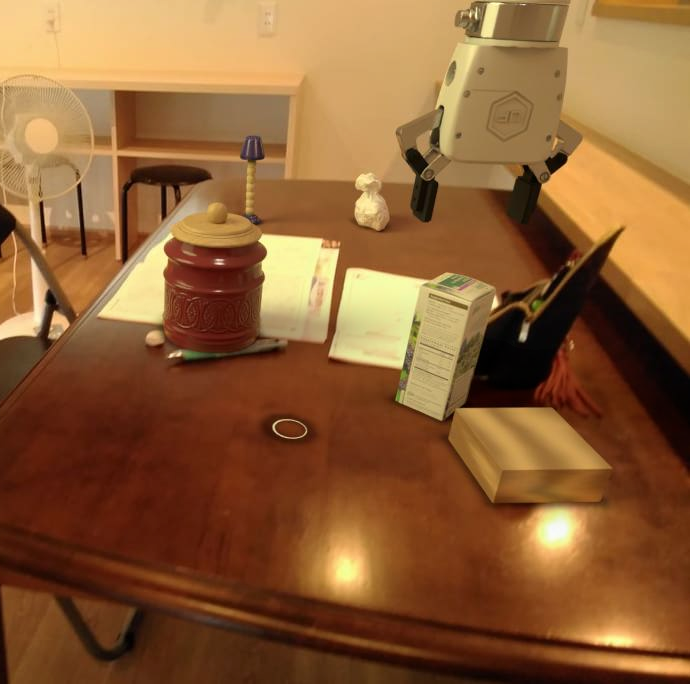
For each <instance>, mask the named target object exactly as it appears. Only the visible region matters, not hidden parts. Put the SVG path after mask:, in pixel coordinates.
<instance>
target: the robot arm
mask: <svg viewBox="0 0 690 684" xmlns="http://www.w3.org/2000/svg"><path fill="white" fill-rule="evenodd" d="M571 2H572V0H474V1H473V2H471V3H470V7H469V8H467V9H466V10H464V9H459V10H457V11H456V14H455V17H454V27H455V28H462V29H463V30H464V36H466V37H465V41H458V43H457V45H456V46H455V49H454V52H453V54H452V57H451V59H450V61H449V64H448V67H447V68H446V72H445V75H444V77H443V81H442V84H441V87H440V90H439V94H438V97H437V101H436V105H435V107H434V110H432V111H429V112H428V113H426V114H424V115H421V116H418V117H417V118H415V119H412V120H411V121H409V122H406V123H404V124H401V125H400V126H398V127H397V128H396V129H395V137H396V140H397V143H398V146H399V149H400V151H401V157H402V159H403V160H404V161H405V162H406V164H407V165H408V166H409V168H410V170H411V171H412V173H413V174H415V178H414V183H413V188H412V192H411V193H412V194H411V198H410V207H409V208H410V210H411V211H412V215H413V216H414V217H415V218H417V219H418V220H419V222H421V223H427V224H428V223H430V222H431V221H432V219H433V214H434V209H435V204H436V199H437V195H438V190H439V186H440V185H439V182H438V180H436V176H437V175H438V174H440V173H441V172H442V171H443V170H444V169H445V168H446V167H447V166H448V165H449V164H450V163H451V162H454V163H458V164H469V165H504V166H505V165H506V166H507V165H509V166H519V168H520V169H521V171H522V175H517V177H516V178H515V181H514V184H513V188H512V191H511V192H512V193H511V195H510V200H509V203H508V207H507V211H506V215H507V216H508V217H509V218H511V219H512V220H514V221H515V222H517V223H518V224H520V225H529V224H530V222H531V218H532V214H534V213H535V211H536V206H537V204H538V200H539V198H540V194H541V189H542V187H543V185H544V184H547V183H548V182H549V181H550V180H551V178H552V175H553V174H554V173H556V172H557V171H559V170H560V169H562V167H564V166H565V165H566V164H567V162H568V160H569V157H570V156H572V155H573V153H574V152H575V151H576V149H577V148H578V147H579V146H580V144H581V143H582V142H583V140H584V136H583V134H582V133H581V132H579V131H578V130H576V129H575V128H573V127H572V126H571V125H569V124H568V123H566V122H565V121H563V120H562V119H561V115H562V110H563V105H564V99H565V92H566V87H567V85H566V84H567V77H568V76H567V75H568V63H569V62H568V61H569V57H568V56H569V48H568V47H564V46H560V43H561V38H562V35H563V30H564V27H565V23H566V20H567V16H568V12H569V8H570V5H571ZM428 132H429V135H428V147H429V149H428V150H426V151H425V152H424V153H423V154H422V153H421V152H420V151H419V149H418V144H417V139H418V138H419V137H420V136H423V135H424V134H427V133H428ZM556 139H557V141H556ZM555 142H556V144H555Z"/></svg>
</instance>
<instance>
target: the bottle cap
mask: <svg viewBox="0 0 690 684" xmlns="http://www.w3.org/2000/svg"><path fill="white" fill-rule="evenodd" d="M283 421H292V422H297V423H299V424H300V425H302V427H304V429H305V432H304V434H303V435H300V436H297V437H289V436H285V435H282V434H280V433H278V431H277V430H276V425H277V424H278V423H280V422H283ZM272 431H273V432H274V433H275V434H276V435H277V436H280V437H282V438H285V439H294V440H295V439H299V438H303V437H304V436H306V434H307V432H308V428H307V426H306V425H304V424H303V423H301V422H300V421H298V420H295V419H290V418H289V419H288V418H287V419H285V418H284V419H278V420H277V421H275V422H274V423H273V424H272Z"/></svg>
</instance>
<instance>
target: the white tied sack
mask: <svg viewBox="0 0 690 684" xmlns="http://www.w3.org/2000/svg"><path fill="white" fill-rule="evenodd" d="M354 187H355V189H356V190H357V191H362V193H361V195H360V197H359V198H358V199H357V200H356V201H355V205H354V206H355V207H354V217H355V218H354V219H355V220H356V222H357V224H358V225H359V226H361V227H365V228H369V229H373V230H375V231H377V232H381V231H382V230H385V228H386V226H387V225H388V223H389V222H390V219H391V218H390V213H389V208H388V204H387V201H386V200H385V198H384V197H383V196H382V195H381V194H380V193H379V192H380V191H381V190H382V187H383V184H382V179H380V177H378V176H377V175H376V174H374V173H373V172H368V173H361V174H360V175H358V177H357V178H356V180H355V184H354Z"/></svg>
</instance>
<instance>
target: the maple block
mask: <svg viewBox="0 0 690 684" xmlns="http://www.w3.org/2000/svg"><path fill="white" fill-rule="evenodd" d="M447 438H448V441H449V442H450V444H451V445H452V447H453V448H454V450H455V451H456V452H457V453H458V456H459V457H460V458H461V459H462V461H463V463H464V464H465V465H466V468H468V470H469V471H470V473H471V474H472V476H473V477H474V478H475V480H476V482H477V483H478V484H479V486H480V487H481V488H482V490H483V491H484V493H485V495H486V496H487V497H488V499H489V500H490V502H491V503H492V504H531V503H532V504H533V503H534V504H536V503H542V504H543V503H596V502H597V503H598V502H601V501H602V498H603V495H604V493H605V490H606V488H607V486H608V483H609V481H610V477H611V476H612V472H613V470H614V469H613V467H612V466H611V465H610V464H609V463H608V461H606V460H605V459H604V458H603V457H602V456H601V454H599V453H598V452H597V451H596V450H595V449H594V448H593V447H592V446H591V445H590V443H588V442H587V441H586V440H585V439H584V438H583V437H582V436H581V434H579V433H578V432H577V431H576V429H574V428H573V426H571V424H569V423H568V422H567V421H566V420H565V419H564V418H563V416H561V415H560V414H559V412H557V411H556V410H555V409H554V408H553V407H551V406H550V407H460V408H456V409H455V412H453V417H452V421H451V425H450V429H449V434H448V437H447Z"/></svg>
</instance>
